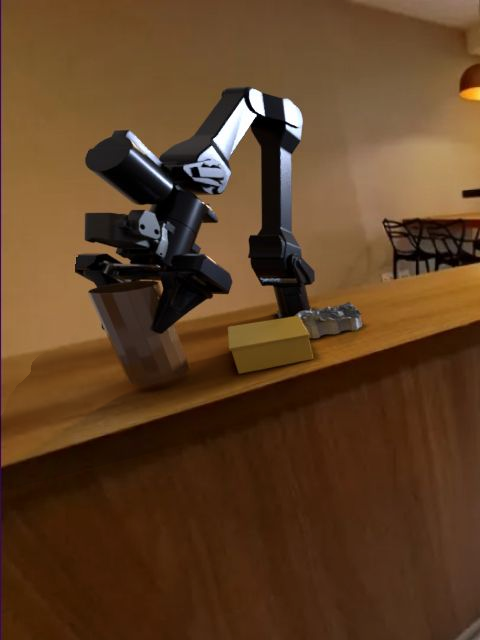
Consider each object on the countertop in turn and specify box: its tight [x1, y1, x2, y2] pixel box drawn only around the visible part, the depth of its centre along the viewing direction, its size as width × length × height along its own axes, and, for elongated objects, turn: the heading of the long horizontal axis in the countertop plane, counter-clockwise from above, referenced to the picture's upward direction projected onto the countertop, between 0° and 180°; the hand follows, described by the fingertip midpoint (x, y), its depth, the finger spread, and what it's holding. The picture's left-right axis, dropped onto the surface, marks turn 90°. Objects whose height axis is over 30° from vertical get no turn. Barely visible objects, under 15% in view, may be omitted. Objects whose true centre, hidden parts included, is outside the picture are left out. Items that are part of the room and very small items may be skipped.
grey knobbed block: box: [295, 301, 363, 339], centre depth 79 cm, size 11×8×4 cm
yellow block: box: [227, 316, 314, 375], centre depth 68 cm, size 11×10×4 cm
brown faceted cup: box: [87, 280, 191, 386], centre depth 57 cm, size 7×7×12 cm
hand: (131, 331), depth 55 cm, fingers closed on brown faceted cup, 7 cm apart
